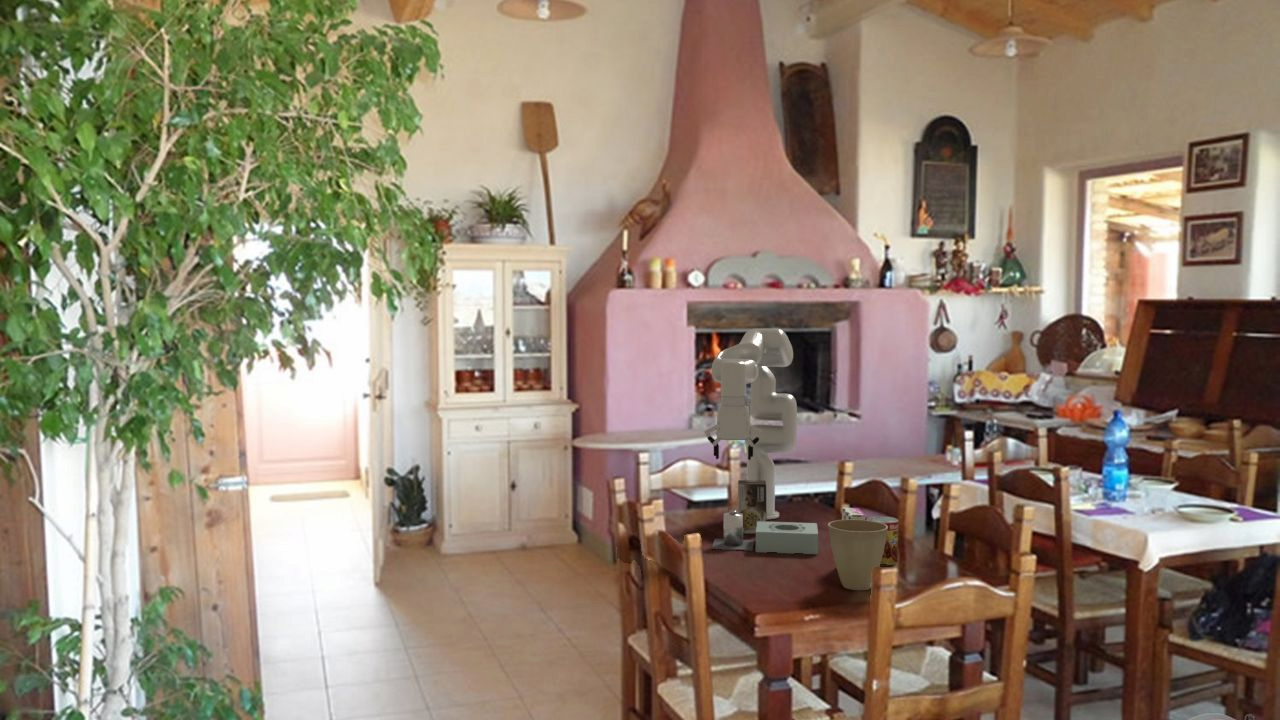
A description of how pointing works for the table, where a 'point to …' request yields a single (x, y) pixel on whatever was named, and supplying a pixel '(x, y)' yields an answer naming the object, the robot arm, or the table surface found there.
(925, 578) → the table surface
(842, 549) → the plant pot
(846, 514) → the candy bar box
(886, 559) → the canned food
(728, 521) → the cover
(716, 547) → the mat
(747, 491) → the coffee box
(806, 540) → the block
